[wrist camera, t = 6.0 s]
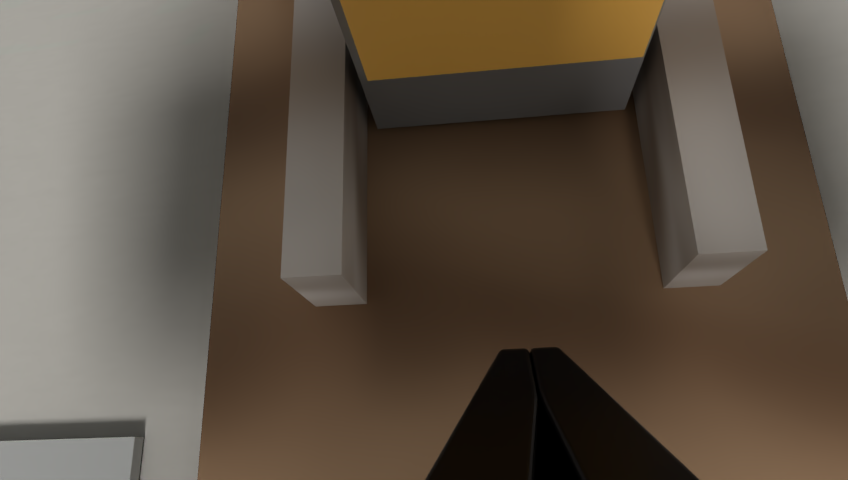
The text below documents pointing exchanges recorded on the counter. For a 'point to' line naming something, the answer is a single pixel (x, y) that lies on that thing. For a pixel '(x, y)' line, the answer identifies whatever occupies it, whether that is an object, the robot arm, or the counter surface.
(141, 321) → the counter surface
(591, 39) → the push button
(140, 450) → the pattern card
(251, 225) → the wooden block stand
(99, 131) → the counter surface
